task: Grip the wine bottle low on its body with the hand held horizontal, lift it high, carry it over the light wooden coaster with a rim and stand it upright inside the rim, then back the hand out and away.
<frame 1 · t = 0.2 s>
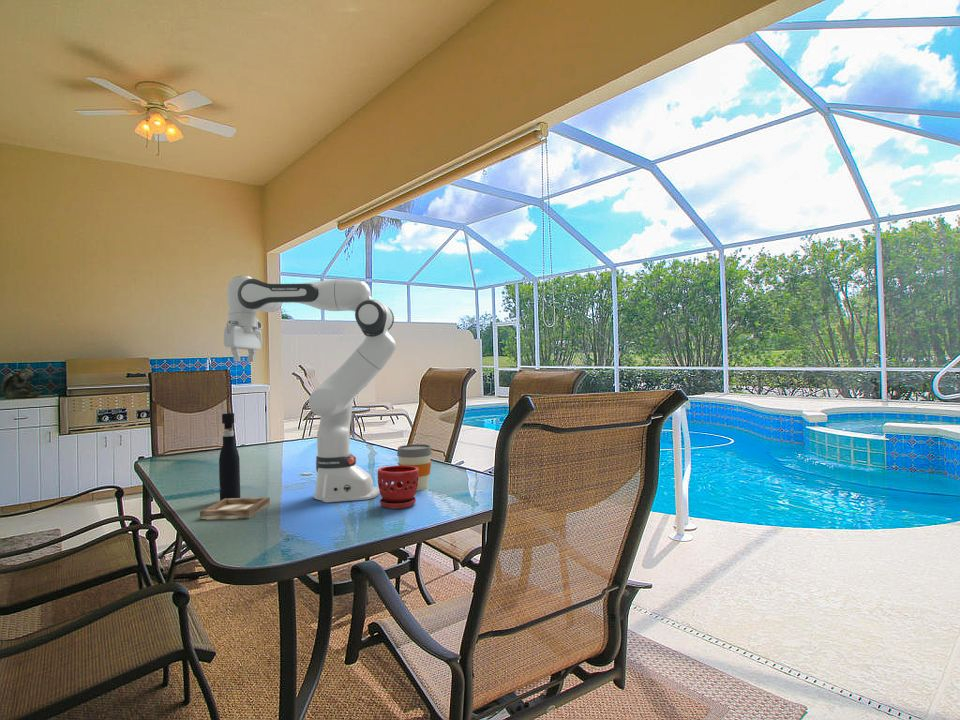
hand: (244, 361, 184), 48 cm above the table, tool pointing down, fingers open, 8 cm apart
reusable coffee cup: (415, 488, 192), on the table
wine bottle: (230, 501, 180), on the table
plant pot: (399, 505, 169), on the table
bottle coaster: (236, 512, 166), on the table
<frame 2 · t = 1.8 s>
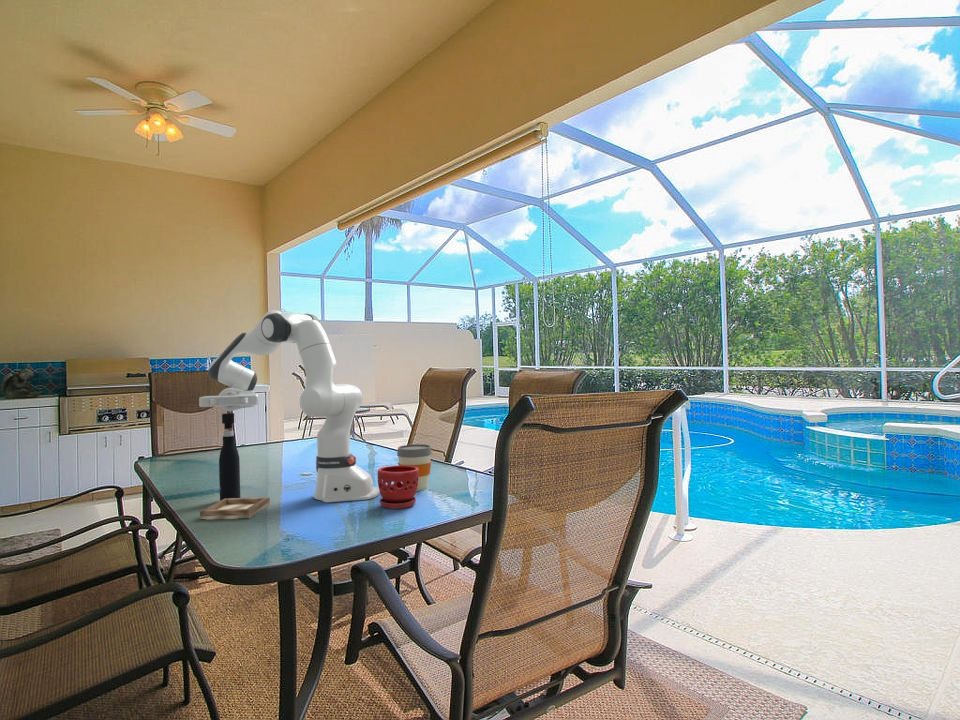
hand: (228, 401, 191), 33 cm above the table, tool horizontal, fingers open, 8 cm apart
nothing on the table moved.
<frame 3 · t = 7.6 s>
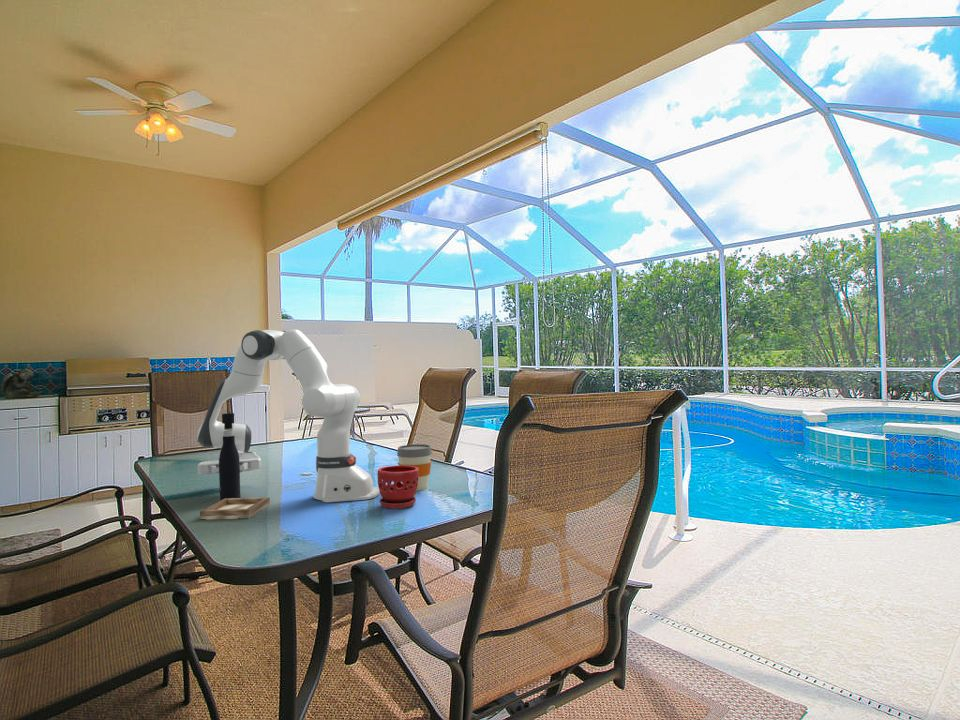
hand: (229, 469, 179), 11 cm above the table, tool horizontal, fingers closed on wine bottle, 6 cm apart
wine bottle: (230, 501, 180), on the table, touching gripper
everything else where it was.
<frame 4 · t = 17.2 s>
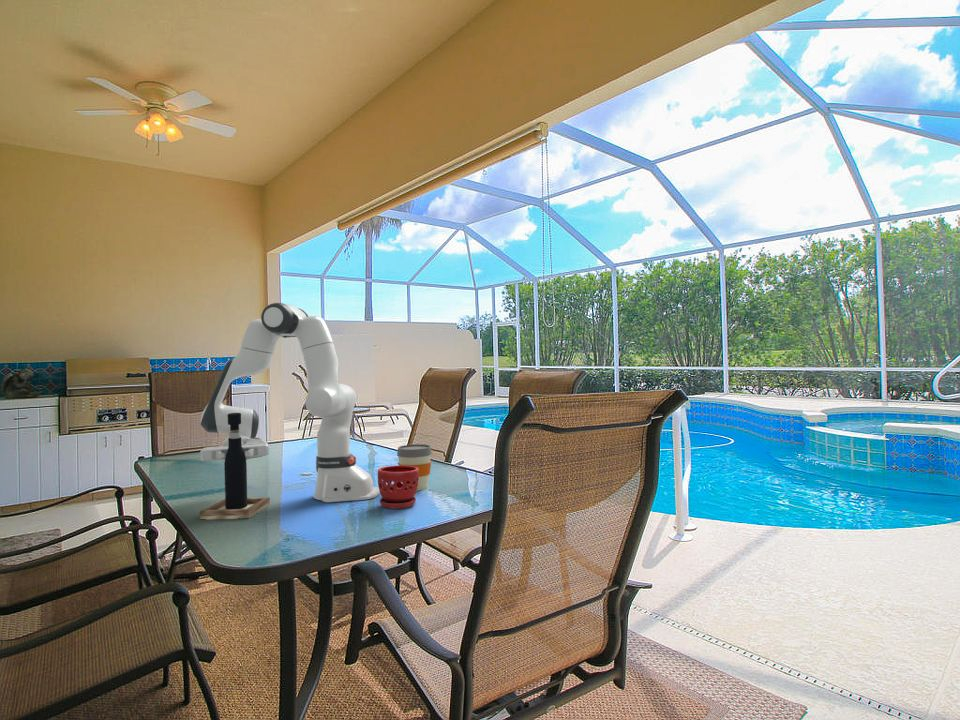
hand: (234, 455, 165), 18 cm above the table, tool horizontal, fingers open, 6 cm apart
wine bottle: (236, 507, 168), point 1 cm above the table, touching bottle coaster
everything else where it was.
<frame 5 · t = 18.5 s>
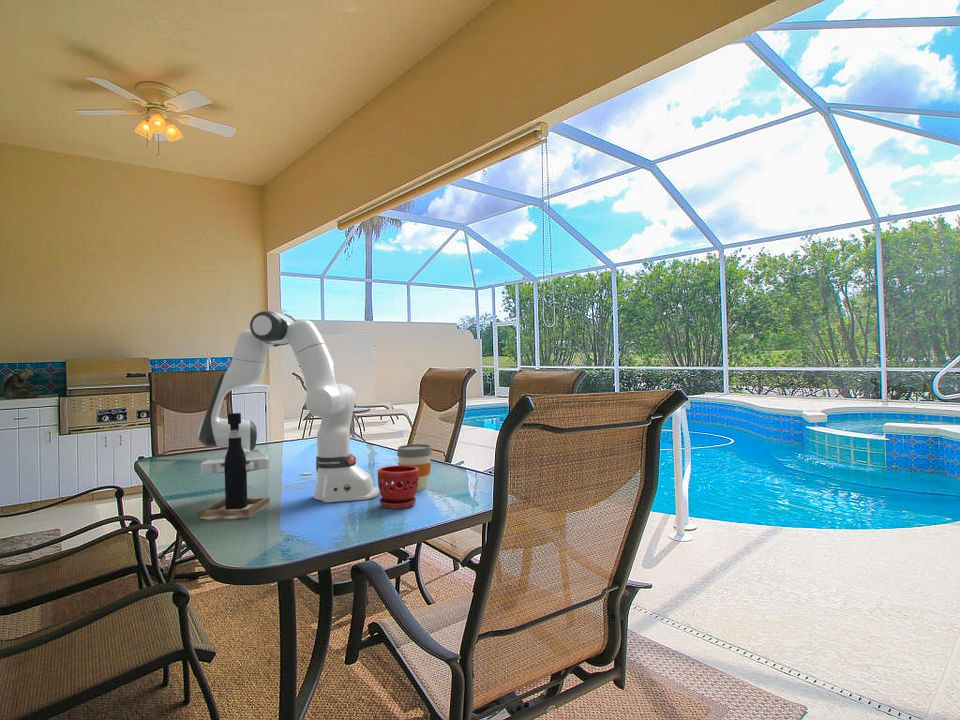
hand: (235, 468, 165), 14 cm above the table, tool horizontal, fingers open, 6 cm apart
wine bottle: (236, 507, 168), point 1 cm above the table, touching bottle coaster, gripper
everything else where it was.
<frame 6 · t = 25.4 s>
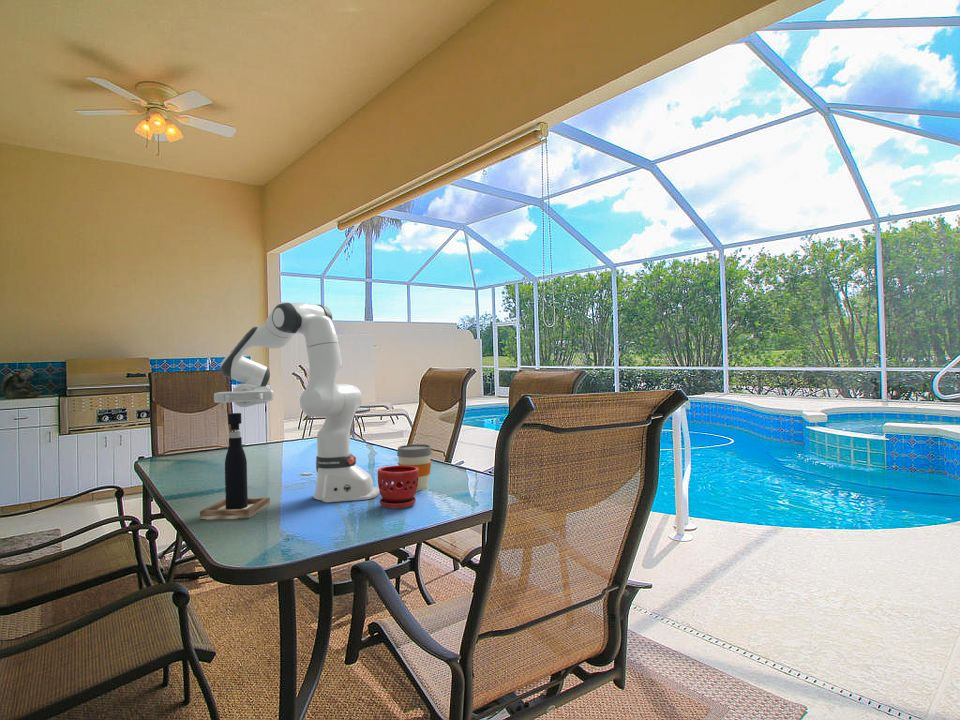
hand: (244, 397, 189), 35 cm above the table, tool horizontal, fingers open, 8 cm apart
wine bottle: (236, 507, 168), point 1 cm above the table, touching bottle coaster
everything else where it was.
at the end: wine bottle 1.9 cm off-centre on the bottle coaster, point 0.8 cm above the bottle coaster's base; wine bottle tilted 0°; the gripper is holding nothing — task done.
